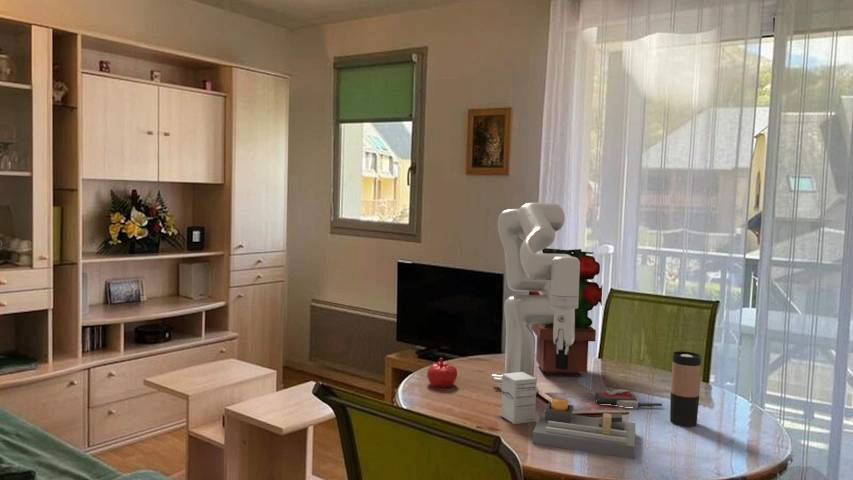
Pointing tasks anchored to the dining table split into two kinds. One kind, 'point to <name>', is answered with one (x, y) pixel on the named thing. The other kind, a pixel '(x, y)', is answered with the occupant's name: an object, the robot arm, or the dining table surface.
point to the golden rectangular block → (606, 424)
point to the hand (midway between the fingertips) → (561, 368)
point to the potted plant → (583, 330)
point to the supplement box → (518, 397)
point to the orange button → (559, 404)
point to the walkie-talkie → (620, 399)
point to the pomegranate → (442, 374)
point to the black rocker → (615, 417)
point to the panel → (583, 433)
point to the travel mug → (685, 388)
